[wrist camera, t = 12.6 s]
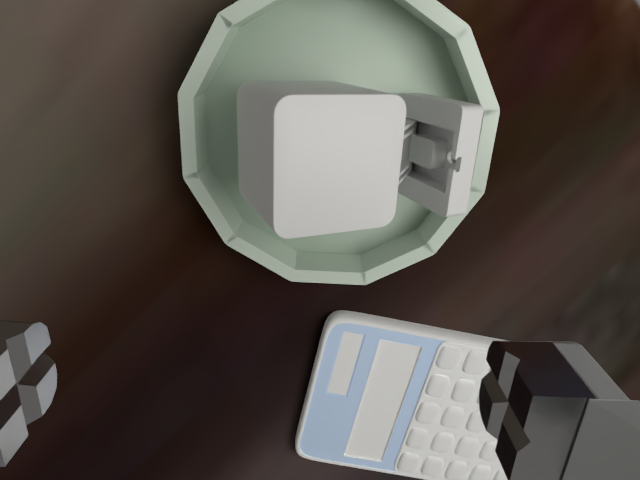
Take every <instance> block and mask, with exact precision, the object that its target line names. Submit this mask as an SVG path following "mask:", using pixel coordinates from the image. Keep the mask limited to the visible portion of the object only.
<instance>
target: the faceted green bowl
mask: <svg viewBox="0 0 640 480" xmlns="http://www.w3.org/2000/svg"><path fill="white" fill-rule="evenodd" d="M248 81H331V82H341V83H345V84H350V85H354V86H359V87H364V88H368V89H373V90H377V91H382V92H386V93H391V94H396V95H400V94H401V93H423V94H428V95H433V96H438V97H444V98H449V99H454V100H459V101H464V102H469V103H474V104H479V105H482V107H483V117H482V123H481V129H480V135H479V141H478V147H477V153H476V159H475V165H474V171H473V176H472V182H471V188H470V194H469V200H468V206H467V211H466V214H464V215H458V216H450V217H442V216H440V215H438V214H436V213H434V212H432V211H431V210H429V209H427V208H425V207H423V206H421V205H420V204H418V203H416V202H414V201H412V200H410V199H408V198H407V197H405V196H403V195H401V194H399V193H398V194H397V203H396V212H395V216H394V218H393V219H392V221H391V222H390V223H389V224H388V225H386V226H384V227H380V228H373V229H365V230H357V231H349V232H341V233H333V234H325V235H317V236H309V237H301V238H293V239H284V238H281V237H279V236H278V235H277V234H276V233H275V232H274V231H273V230H272V229H271V227H270V226H269V225H268V224H267V223H266V222H265V221H264V220H263V218H262V217H261V216H260V215H259V214H258V213H257V212H256V210H255V209H254V208H253V207H252V206H251V205H250V204H249V203H248V201H247V200H246V199H245V198H244V197H243V196H242V194H241V193H240V190H239V174H238V135H237V91H238V89H239V87H240V86H241V85H242V84H243V83H245V82H248ZM177 95H178V110H179V126H180V141H181V156H182V172H183V177H184V178H183V179H184V180H185V182H186V184H187V185H188V187H189V188H190V190H191V191H192V193H193V194H194V196H195V198H196V199H197V201H198V202H199V204H200V205H201V207H202V208H203V210H204V212H205V213H206V215H207V216H208V218H209V219H210V221H211V222H212V224H213V226H214V227H215V229H216V230H217V232H218V233H219V235H220V237H221V238H222V240H223V241H224V243H225V244H226V245H228V246H229V247H231V248H233V249H235V250H236V251H238V252H240V253H242V254H243V255H245V256H247V257H249V258H250V259H252V260H254V261H256V262H257V263H259V264H261V265H263V266H265V267H266V268H268V269H270V270H272V271H273V272H275V273H277V274H279V275H280V276H282V277H284V278H286V279H287V280H289V281H291V282H312V283H333V284H354V285H366V284H369V283H371V282H373V281H375V280H378V279H380V278H382V277H385V276H387V275H389V274H391V273H394V272H396V271H398V270H400V269H403V268H405V267H407V266H409V265H412V264H414V263H416V262H418V261H421V260H423V259H425V258H427V257H430V256H432V255H434V254H435V253H436V252H437V251H438V249H439V248H440V247H441V246H442V245H443V243H444V242H445V241H446V240H447V238H448V237H449V236H450V235H451V233H452V232H453V231H454V230H455V229H456V227H457V226H458V225H459V224H460V222H461V221H462V220H463V219H464V217H465V216H466V215H467V214H468V213H469V211H470V210H471V209H472V208H473V206H474V205H475V204H476V203H477V201H478V200H479V199H480V198H481V197H482V195H483V194H484V192H485V188H486V182H487V177H488V172H489V167H490V161H491V156H492V151H493V145H494V140H495V135H496V130H497V124H498V119H499V114H500V108H499V105H498V102H497V100H496V97H495V94H494V91H493V89H492V86H491V83H490V80H489V77H488V75H487V72H486V69H485V66H484V64H483V61H482V58H481V55H480V52H479V50H478V47H477V44H476V41H475V39H474V36H473V33H472V30H471V28H470V26H469V25H468V24H467V23H465V22H464V21H463V20H462V19H460V18H459V17H458V16H456V15H455V14H454V13H452V12H451V11H450V10H448V9H447V8H446V7H444V6H443V5H442V4H441V3H439V2H438V1H437V0H239V1H237V2H235V3H234V4H232V5H230V6H229V7H227V8H225V9H224V10H222V11H220V12H219V13H218V14H217V16H216V18H215V20H214V22H213V24H212V26H211V28H210V30H209V32H208V34H207V36H206V38H205V40H204V42H203V44H202V46H201V48H200V50H199V52H198V54H197V56H196V58H195V60H194V62H193V64H192V66H191V68H190V70H189V72H188V74H187V76H186V77H185V79H184V81H183V83H182V85H181V87H180V89H179V91H178V94H177ZM451 160H452V162H453V163H455V162H456V160H455V159H452V158H451Z"/></svg>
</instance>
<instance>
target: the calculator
mask: <svg viewBox="0 0 640 480" xmlns="http://www.w3.org/2000/svg"><path fill="white" fill-rule="evenodd" d="M492 341H506V340H501V339H496V338H491V337H485V336H480V335H475V334H470V333H465V332H459V331H454V330H449V329H444V328H438V327H433V326H428V325H423V324H418V323H412V322H407V321H402V320H397V319H391V318H386V317H381V316H376V315H370V314H365V313H360V312H353V311H344V310H338V311H335V312H332V313H331V314H330V315H329V316H328V317H327V319H326V321H325V324H324V327H323V330H322V334H321V338H320V342H319V346H318V349H317V353H316V357H315V361H314V365H313V369H312V373H311V377H310V381H309V385H308V389H307V393H306V397H305V401H304V405H303V408H302V412H301V416H300V420H299V424H298V428H297V432H296V438H295V449H296V451H297V453H298V454H299V455H300V456H302V457H304V458H307V459H310V460H315V461H320V462H325V463H331V464H337V465H343V466H349V467H355V468H361V469H367V470H373V471H379V472H384V473H390V474H396V475H402V476H408V477H414V478H420V479H426V480H508V479H507V477H506V475H505V472H504V470H503V468H502V466H501V463H500V461H499V459H498V457H497V454H496V452H495V449H496V445H497V441H498V440H497V439H496V438H495V437H493V436H492V435H491V434H489V433H488V432H487V431H486V429H485V426H484V424H483V422H482V418H481V414H480V410H479V390H480V385H481V379H482V378H483V377H484V376H485V375H487V374H488V373H489V372H490V371H491V368H490V366H489V364H488V362H487V361H486V357H487V353H488V348H489V346H490V345H491V343H492ZM439 406H440V407H439ZM464 409H465V410H464ZM478 440H479V441H478ZM467 463H468V464H467Z"/></svg>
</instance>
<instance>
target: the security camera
mask: <svg viewBox="0 0 640 480" xmlns="http://www.w3.org/2000/svg"><path fill="white" fill-rule="evenodd" d="M482 117H483V107H482V105H479V104H474V103H469V102H464V101H459V100H454V99H449V98H444V97H438V96H433V95H428V94H423V93H401V94H400V95H396V94H391V93H386V92H382V91H377V90H373V89H368V88H364V87H359V86H354V85H350V84H345V83H341V82H331V81H248V82H245V83H243V84H242V85H241V86H240V87H239V89H238V91H237V135H238V174H239V190H240V193H241V194H242V196H243V197H244V198H245V199H246V200H247V201H248V203H249V204H250V205H251V206H252V207H253V208H254V209H255V210H256V212H257V213H258V214H259V215H260V216H261V217H262V218H263V220H264V221H265V222H266V223H267V224H268V225H269V226H270V227H271V229H272V230H273V231H274V232H275V233H276V234H277V235H278V236H279V237H281V238H284V239H293V238H301V237H309V236H317V235H325V234H333V233H341V232H349V231H357V230H365V229H373V228H380V227H384V226H386V225H388V224H389V223H390V222H391V221H392V219H393V218H394V216H395V212H396V203H397V194H398V193H399V194H401V195H403V196H405V197H407V198H408V199H410V200H412V201H414V202H416V203H418V204H420V205H421V206H423V207H425V208H427V209H429V210H431V211H432V212H434V213H436V214H438V215H440V216H442V217H450V216H458V215H464V214H466V211H467V206H468V200H469V194H470V188H471V182H472V176H473V171H474V165H475V159H476V153H477V147H478V141H479V135H480V129H481V123H482ZM451 158H452V159H455V160H456V162H455V163H453V162H452V160H451Z"/></svg>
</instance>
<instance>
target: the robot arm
mask: <svg viewBox="0 0 640 480" xmlns="http://www.w3.org/2000/svg"><path fill="white" fill-rule="evenodd" d="M50 343H51V341H50V337H49V333H48V329H47V327H46V326H45V325H44V324H42V323H41V322H31V321H14V320H0V467H5V466H6V465H7V463H8V462H9V461H10V459H11V458H12V457H13V455H14V454H15V452H16V451H17V450H18V448H19V447H20V446H21V444H22V443H23V442H24V440H25V439H26V438H27V436H28V431H27V426H26V425H28V424H29V423H31V422H33V421H34V420H36V419H38V418H40V417H41V416H43V414H44V413H45V412H46V410H47V409H48V407H49V406H50V404H51V402H52V399H53V396H54V393H55V390H56V387H57V371H56V366H55V363H54V362H53V361H52V360H51V359H50V358H49V357H48V356H47V355H46V354H45V353H44V352H45V351H46V349H47V348H48V346H49V345H50ZM486 361H487V362H488V364H489V366H490V368H491V371H490V372H489V373H488V374H487V375H485V376H484V377H483V378H482V379H481V385H480V390H479V410H480V414H481V418H482V422H483V424H484V426H485V429H486V431H487V432H488V433H489V434H491V435H492V436H493V437H495V438H496V439H497V440H498V441H497V445H496V449H495V452H496V454H497V457H498V459H499V461H500V463H501V466H502V468H503V470H504V472H505V475H506V477H507V479H508V480H640V401H632V400H629V399H628V397H627V396H626V395H625V394H624V393H623V392H622V391H621V389H620V388H619V387H618V386H617V385H616V384H615V383H614V381H613V380H612V379H611V378H610V377H609V376H608V375H607V374H606V372H605V371H604V370H603V369H602V368H601V367H600V366H599V364H598V363H597V362H596V361H595V360H594V359H593V358H592V356H591V355H590V354H589V353H588V352H587V351H586V350H585V349H584V347H583V346H582V345H580V344H578V343H576V342H574V341H547V342H535V341H492V343H491V345H490V346H489V348H488V353H487V357H486Z"/></svg>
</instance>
